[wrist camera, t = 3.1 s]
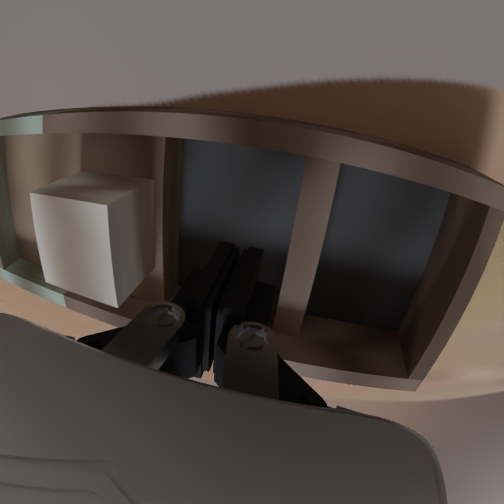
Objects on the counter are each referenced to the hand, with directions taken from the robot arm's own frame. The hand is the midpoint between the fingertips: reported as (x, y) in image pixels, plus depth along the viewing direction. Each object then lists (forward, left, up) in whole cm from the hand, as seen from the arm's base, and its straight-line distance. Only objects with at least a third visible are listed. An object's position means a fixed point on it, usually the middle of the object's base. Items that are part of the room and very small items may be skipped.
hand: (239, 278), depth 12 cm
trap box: (+4, 0, -6) cm, 7 cm away
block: (+8, 0, -3) cm, 9 cm away
